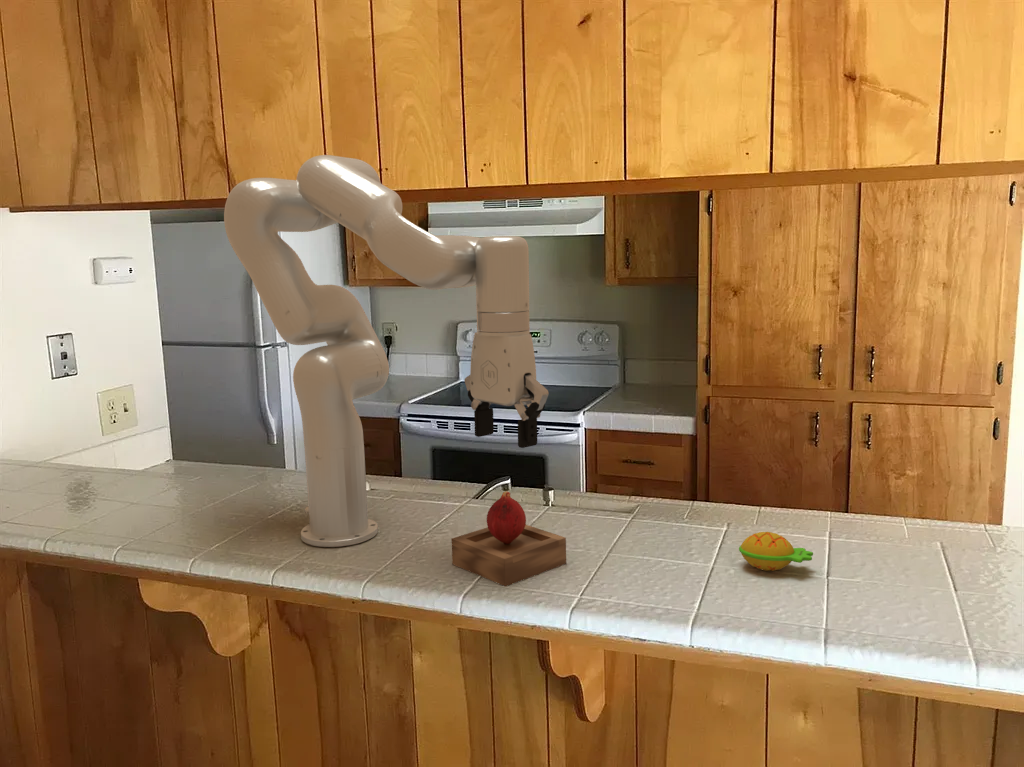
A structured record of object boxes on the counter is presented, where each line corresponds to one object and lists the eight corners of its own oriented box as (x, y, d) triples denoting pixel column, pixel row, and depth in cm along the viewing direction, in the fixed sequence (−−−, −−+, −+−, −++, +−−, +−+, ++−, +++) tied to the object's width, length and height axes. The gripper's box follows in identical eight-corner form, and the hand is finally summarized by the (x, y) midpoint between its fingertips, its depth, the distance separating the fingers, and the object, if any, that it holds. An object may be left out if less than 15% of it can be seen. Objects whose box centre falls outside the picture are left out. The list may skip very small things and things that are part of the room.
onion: (522, 551, 122) (520, 498, 120) (483, 550, 123) (481, 497, 122) (529, 538, 127) (528, 487, 126) (492, 536, 128) (490, 485, 127)
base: (452, 564, 126) (451, 538, 125) (512, 544, 134) (511, 519, 133) (505, 586, 117) (504, 559, 116) (566, 563, 125) (565, 537, 124)
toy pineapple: (742, 557, 125) (743, 522, 125) (814, 565, 121) (815, 530, 121) (735, 574, 119) (735, 537, 118) (810, 583, 115) (811, 546, 114)
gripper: (445, 322, 124) (449, 435, 127) (524, 329, 112) (526, 455, 114) (485, 318, 129) (487, 427, 132) (564, 325, 116) (565, 446, 119)
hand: (505, 440), depth 123 cm, fingers open, 9 cm apart
